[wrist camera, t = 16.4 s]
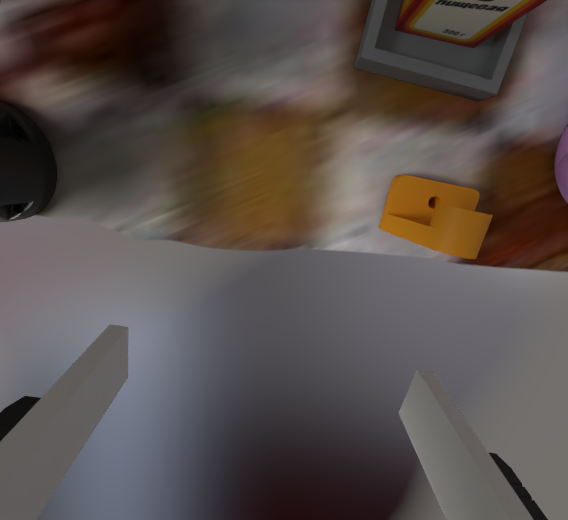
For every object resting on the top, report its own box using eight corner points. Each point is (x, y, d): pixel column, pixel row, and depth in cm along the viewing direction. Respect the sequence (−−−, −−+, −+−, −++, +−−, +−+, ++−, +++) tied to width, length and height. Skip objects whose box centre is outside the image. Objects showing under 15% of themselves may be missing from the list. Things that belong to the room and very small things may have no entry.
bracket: (469, 189, 41) (542, 196, 29) (450, 241, 43) (512, 267, 31) (392, 173, 40) (435, 174, 29) (376, 226, 42) (411, 247, 31)
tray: (353, 67, 37) (360, 57, 33) (397, -99, 32) (410, -131, 29) (477, 101, 38) (496, 94, 34) (536, -57, 33) (565, -83, 30)
